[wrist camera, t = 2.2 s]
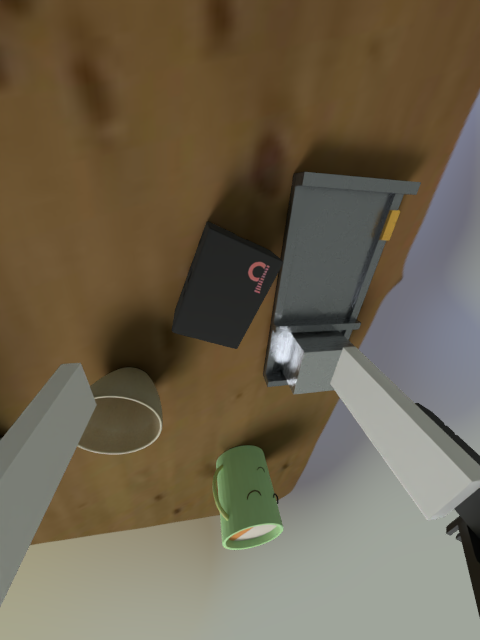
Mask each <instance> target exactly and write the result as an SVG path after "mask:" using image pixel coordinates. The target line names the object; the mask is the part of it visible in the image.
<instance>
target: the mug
mask: <svg viewBox="0 0 480 640" xmlns="http://www.w3.org/2000/svg"><path fill="white" fill-rule="evenodd" d="M216 468H217V470H216V471H215V474H214V477H213V495H214V499H215V502H216V505H217V507H218V509H219V511H220V520H221V532H222V545H223V547H224V548H226V549H231V550H240V549H247V548H252V547H255V546H259V545H261V544H264V543H266V542H269V541H271V540H273V539H274V538H276V537H277V536H279V535H280V534H281V533H282V531H283V525H282V521H281V517H280V514H279V510H278V506H277V504H278V496H277V495H276V494H275V493H274V491H273V487H272V483H271V479H270V475H269V472H268V468H267V464H266V460H265V456H264V452H263V451H262V449H260V448H259V447H256V446H251V445H245V446H238V447H235V448H232V449H229V450H227V451H226V452H224V453H223V454H221V455H220V456H219V458H218V459H217V461H216ZM216 480H217V481H218V494H219V499H218V495H217V490H216ZM275 495H276V497H277V502H276V498H275Z"/></svg>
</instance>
